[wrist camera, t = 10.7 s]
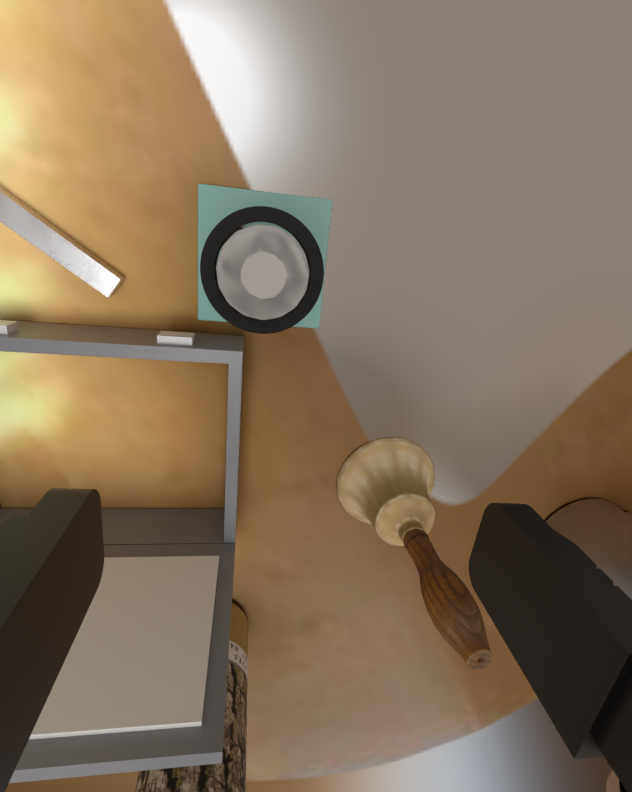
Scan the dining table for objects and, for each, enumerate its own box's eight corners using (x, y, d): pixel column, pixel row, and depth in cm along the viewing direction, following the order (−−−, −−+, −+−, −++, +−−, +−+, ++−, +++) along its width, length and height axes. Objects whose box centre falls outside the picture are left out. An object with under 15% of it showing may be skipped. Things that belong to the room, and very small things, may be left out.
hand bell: (319, 466, 34) (369, 652, 19) (412, 419, 33) (539, 572, 18) (360, 537, 37) (430, 742, 22) (446, 494, 36) (576, 676, 22)
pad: (330, 200, 26) (332, 199, 26) (317, 326, 29) (318, 328, 29) (199, 184, 25) (197, 183, 25) (199, 318, 28) (197, 319, 27)
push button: (335, 247, 27) (377, 258, 18) (299, 322, 28) (321, 368, 19) (236, 196, 25) (226, 178, 16) (204, 279, 27) (178, 307, 17)
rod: (126, 276, 27) (120, 279, 26) (114, 294, 27) (107, 297, 26) (-35, 157, 23) (-52, 153, 22) (-47, 178, 24) (-65, 176, 22)
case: (244, 328, 29) (232, 452, 13) (236, 522, 34) (221, 771, 19) (-68, 306, 26) (-578, 434, 10) (-19, 523, 31) (-293, 821, 16)
